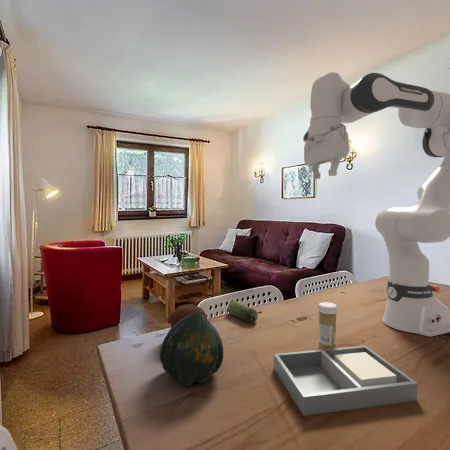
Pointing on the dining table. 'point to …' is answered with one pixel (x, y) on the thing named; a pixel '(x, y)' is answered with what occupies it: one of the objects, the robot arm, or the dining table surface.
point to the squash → (192, 350)
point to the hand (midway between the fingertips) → (324, 177)
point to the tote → (337, 382)
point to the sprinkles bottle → (327, 325)
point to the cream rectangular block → (365, 369)
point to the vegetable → (242, 312)
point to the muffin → (183, 313)
